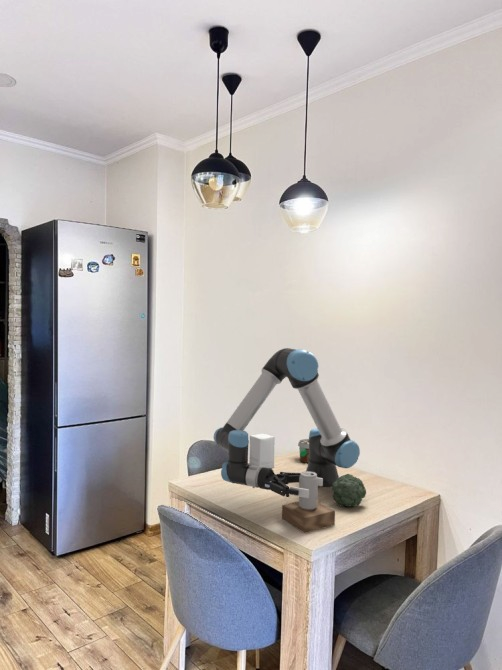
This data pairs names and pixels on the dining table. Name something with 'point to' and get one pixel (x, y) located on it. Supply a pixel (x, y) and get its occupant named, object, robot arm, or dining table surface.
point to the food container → (304, 450)
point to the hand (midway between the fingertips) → (315, 487)
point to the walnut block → (308, 517)
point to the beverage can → (309, 482)
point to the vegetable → (348, 490)
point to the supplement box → (262, 450)
